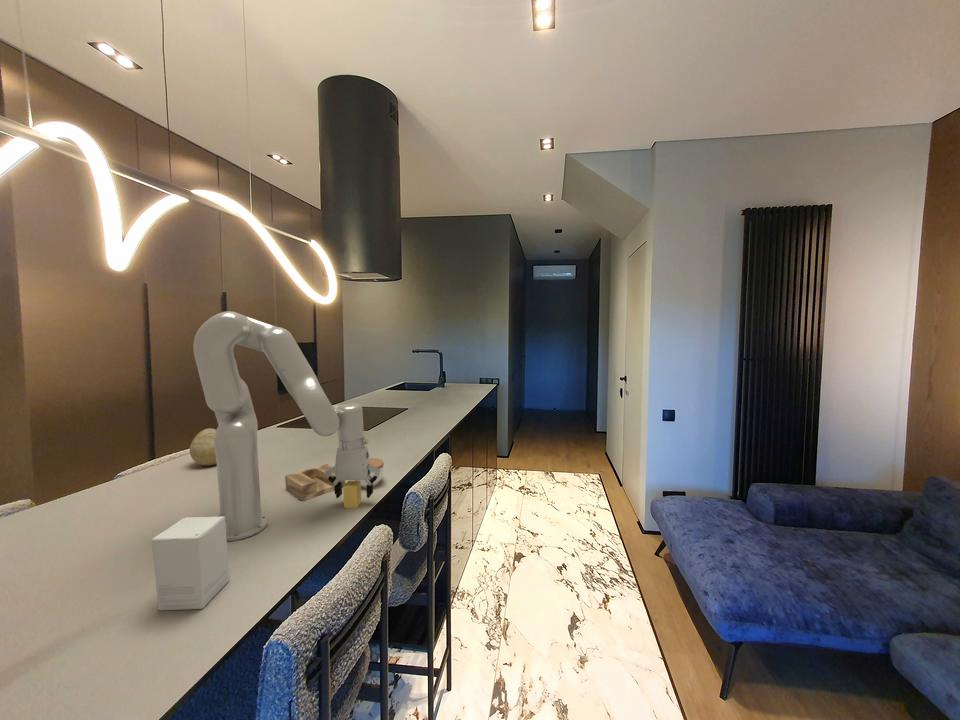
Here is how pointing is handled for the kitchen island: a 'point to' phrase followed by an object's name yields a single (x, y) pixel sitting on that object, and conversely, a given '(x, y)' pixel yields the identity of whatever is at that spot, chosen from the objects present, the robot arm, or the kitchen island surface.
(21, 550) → the kitchen island surface
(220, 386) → the robot arm
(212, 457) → the fossilized egg
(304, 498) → the notched board
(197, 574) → the supplement box
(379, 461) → the lidded jar
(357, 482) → the yellow upright block
